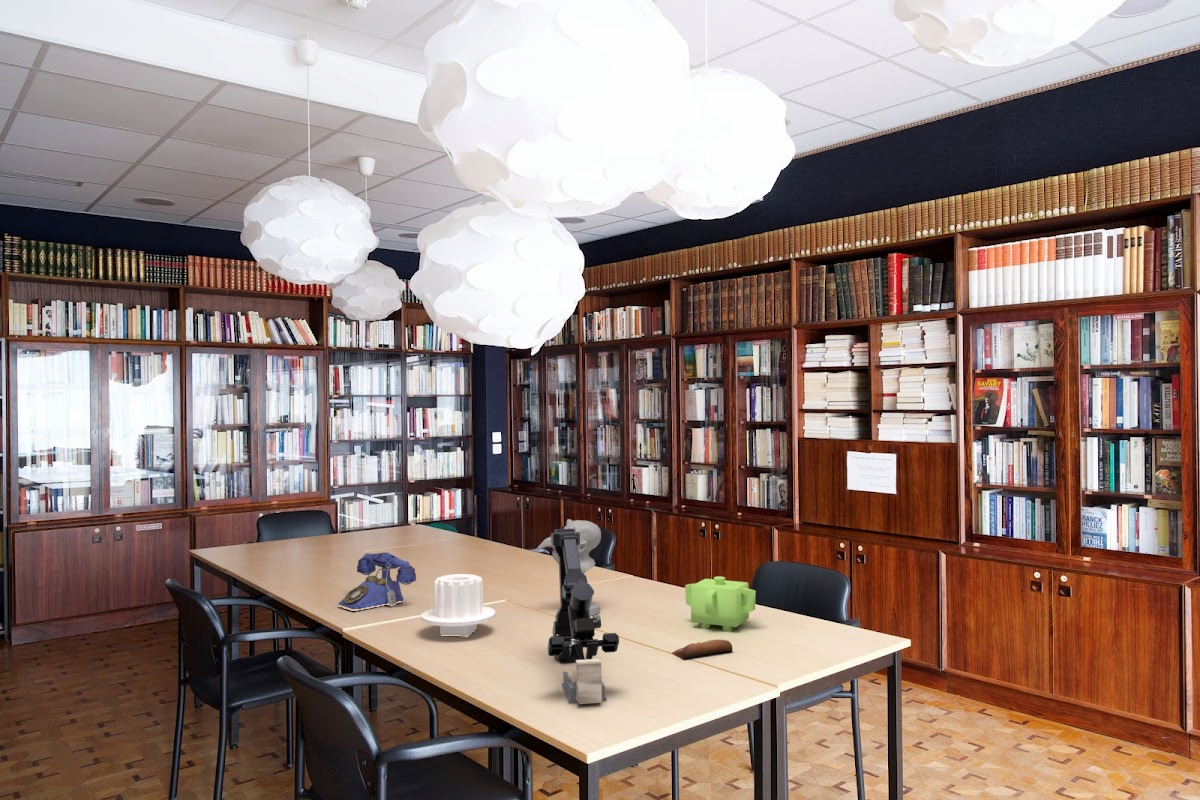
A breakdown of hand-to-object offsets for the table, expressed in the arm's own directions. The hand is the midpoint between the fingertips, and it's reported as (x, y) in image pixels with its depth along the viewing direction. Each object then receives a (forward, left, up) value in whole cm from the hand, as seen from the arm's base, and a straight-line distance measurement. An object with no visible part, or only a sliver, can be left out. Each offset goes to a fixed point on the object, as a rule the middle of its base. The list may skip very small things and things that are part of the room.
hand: (587, 673), depth 217 cm
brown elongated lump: (-24, +49, -8) cm, 55 cm away
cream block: (+2, -1, -6) cm, 7 cm away
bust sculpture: (-89, +33, -7) cm, 95 cm away
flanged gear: (-81, -13, -7) cm, 83 cm away
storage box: (-49, +72, -7) cm, 88 cm away
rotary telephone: (-141, -34, -7) cm, 145 cm away
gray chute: (-6, +2, -7) cm, 10 cm away
